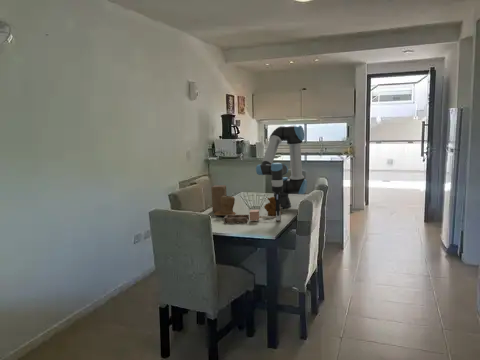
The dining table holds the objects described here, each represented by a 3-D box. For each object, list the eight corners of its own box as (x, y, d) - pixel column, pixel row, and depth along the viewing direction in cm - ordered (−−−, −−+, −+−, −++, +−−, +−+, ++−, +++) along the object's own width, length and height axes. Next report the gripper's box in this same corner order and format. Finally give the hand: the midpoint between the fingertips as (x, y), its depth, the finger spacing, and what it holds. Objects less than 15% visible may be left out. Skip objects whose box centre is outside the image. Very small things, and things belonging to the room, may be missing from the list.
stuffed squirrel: (282, 213, 297) (282, 196, 295) (275, 217, 285) (274, 199, 283) (270, 212, 302) (269, 195, 300) (262, 216, 289) (261, 199, 288)
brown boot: (237, 213, 302) (236, 194, 300) (233, 217, 291) (232, 197, 289) (218, 213, 306) (217, 194, 304) (213, 217, 295) (212, 197, 293)
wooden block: (224, 212, 311) (223, 186, 308) (212, 212, 313) (210, 186, 310) (227, 209, 320) (226, 184, 318) (215, 209, 322) (214, 184, 320)
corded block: (280, 219, 278) (280, 203, 276) (280, 221, 272) (280, 205, 270) (250, 219, 281) (250, 204, 279) (249, 221, 275) (249, 206, 274)
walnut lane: (249, 219, 283) (248, 214, 283) (247, 222, 273) (246, 218, 273) (226, 219, 286) (226, 214, 285) (224, 223, 276) (223, 218, 275)
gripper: (272, 183, 281) (273, 216, 284) (270, 188, 263) (272, 222, 267) (283, 183, 280) (284, 216, 283) (282, 187, 262) (283, 222, 265)
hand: (278, 219), depth 275 cm, fingers closed on corded block, 5 cm apart
